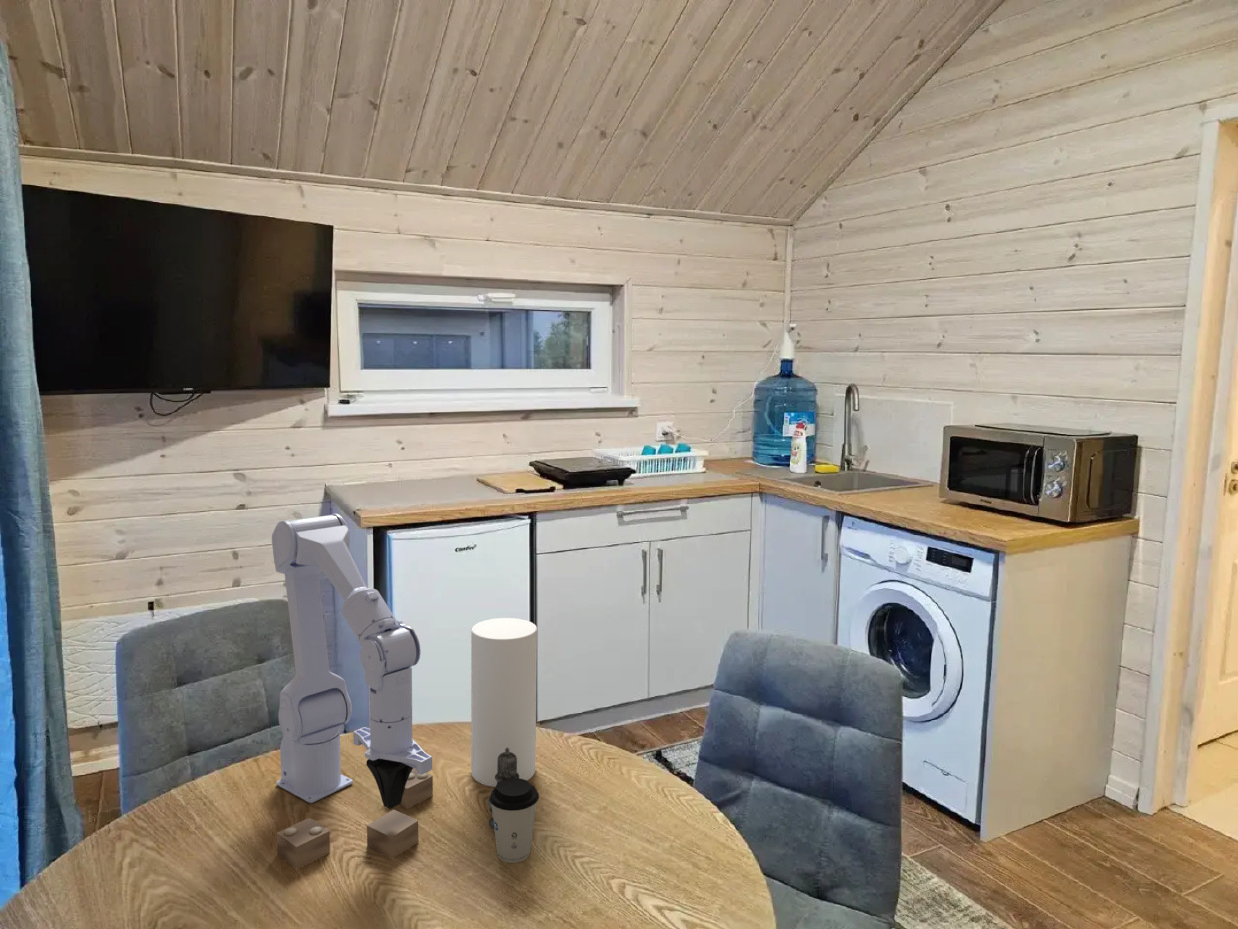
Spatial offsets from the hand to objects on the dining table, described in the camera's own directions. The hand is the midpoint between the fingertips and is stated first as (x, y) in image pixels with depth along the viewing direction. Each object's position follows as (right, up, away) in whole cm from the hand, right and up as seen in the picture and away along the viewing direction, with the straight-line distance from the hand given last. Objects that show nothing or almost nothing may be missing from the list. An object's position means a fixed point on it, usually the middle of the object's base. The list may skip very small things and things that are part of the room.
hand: (392, 804), depth 119 cm
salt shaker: (+15, -6, +7) cm, 18 cm away
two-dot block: (-12, -6, -2) cm, 14 cm away
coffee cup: (+17, -7, 0) cm, 19 cm away
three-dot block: (-1, -4, +14) cm, 14 cm away
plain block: (0, -6, +1) cm, 6 cm away
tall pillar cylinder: (+13, -4, +22) cm, 26 cm away
